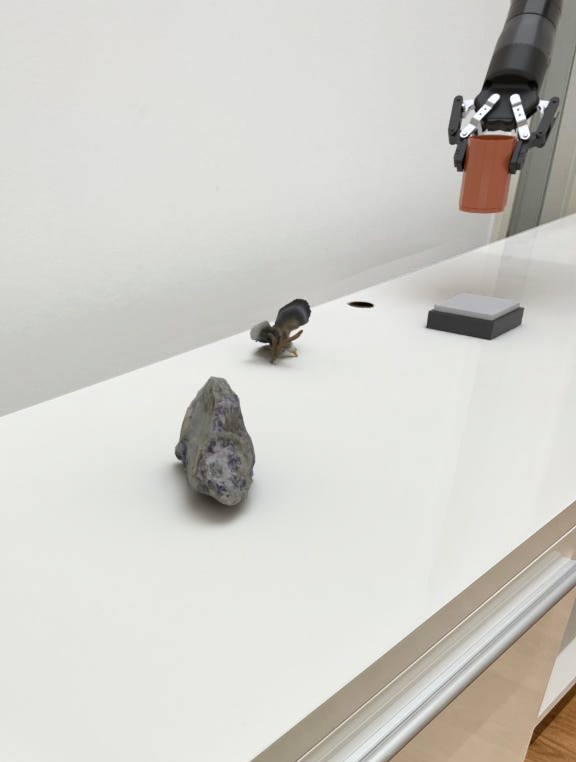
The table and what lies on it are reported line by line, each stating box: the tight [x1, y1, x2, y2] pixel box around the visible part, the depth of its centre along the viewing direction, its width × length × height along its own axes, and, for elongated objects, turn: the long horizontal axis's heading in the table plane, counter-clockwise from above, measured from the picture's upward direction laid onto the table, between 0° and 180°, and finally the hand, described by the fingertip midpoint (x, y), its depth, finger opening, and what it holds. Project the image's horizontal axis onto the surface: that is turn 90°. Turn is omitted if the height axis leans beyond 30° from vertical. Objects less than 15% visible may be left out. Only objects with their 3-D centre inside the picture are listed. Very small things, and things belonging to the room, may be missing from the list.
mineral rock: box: [174, 375, 256, 506], centre depth 94 cm, size 13×11×10 cm
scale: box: [425, 292, 525, 340], centre depth 138 cm, size 9×9×3 cm
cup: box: [457, 133, 518, 215], centre depth 139 cm, size 6×6×9 cm
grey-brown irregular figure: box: [249, 298, 312, 364], centre depth 129 cm, size 8×7×9 cm
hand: (485, 168), depth 138 cm, fingers closed on cup, 6 cm apart
